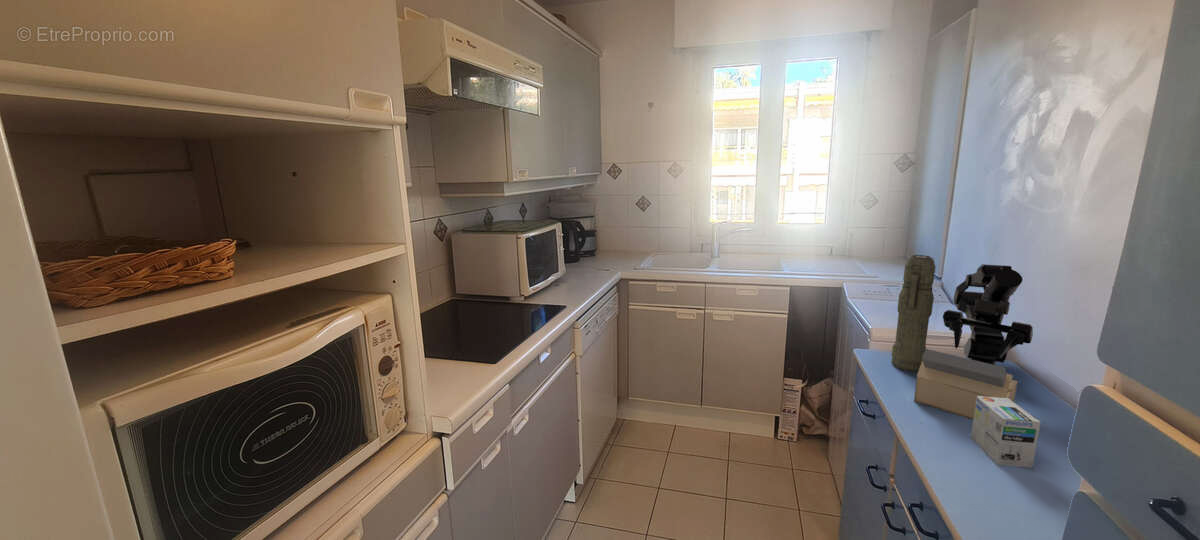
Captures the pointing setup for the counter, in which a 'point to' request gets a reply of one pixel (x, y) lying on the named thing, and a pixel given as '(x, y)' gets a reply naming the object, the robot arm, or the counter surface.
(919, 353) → the thermos
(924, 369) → the grey stone
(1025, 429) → the light bulb box
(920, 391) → the carton
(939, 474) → the counter surface
